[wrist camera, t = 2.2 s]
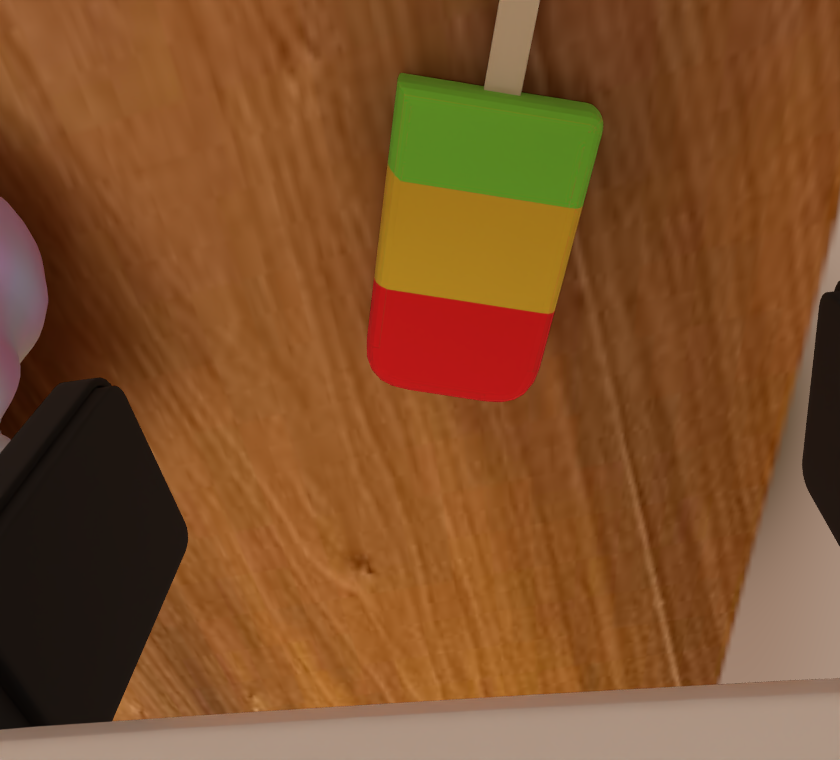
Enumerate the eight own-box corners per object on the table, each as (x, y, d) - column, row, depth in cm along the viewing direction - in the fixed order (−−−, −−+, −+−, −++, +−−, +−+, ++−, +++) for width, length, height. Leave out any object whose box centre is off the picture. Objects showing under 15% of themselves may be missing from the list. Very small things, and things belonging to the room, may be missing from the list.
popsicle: (366, 358, 26) (359, 389, 24) (432, -192, 18) (428, -202, 16) (527, 382, 26) (531, 414, 24) (666, -152, 18) (685, -158, 16)
